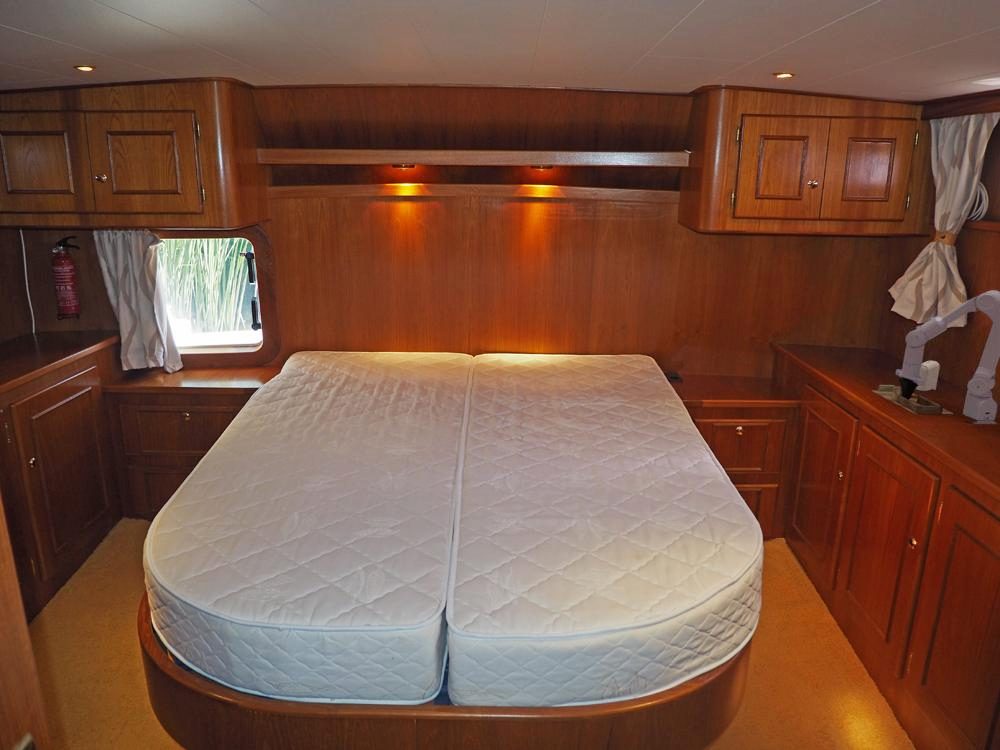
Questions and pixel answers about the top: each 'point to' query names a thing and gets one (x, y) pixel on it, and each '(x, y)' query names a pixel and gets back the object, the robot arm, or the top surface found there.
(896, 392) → the cube
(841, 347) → the top surface
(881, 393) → the board
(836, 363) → the top surface
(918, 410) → the cubby
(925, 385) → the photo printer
